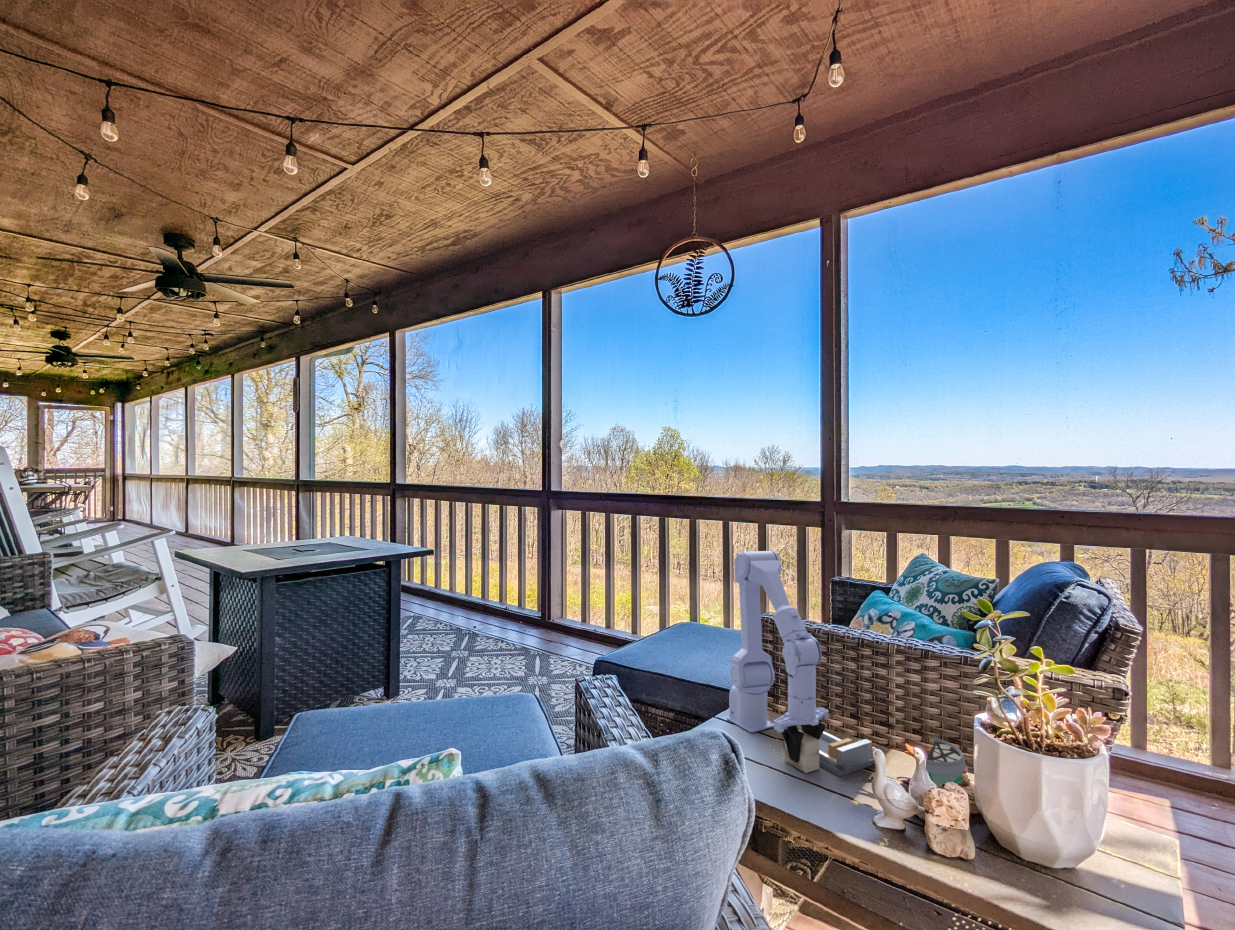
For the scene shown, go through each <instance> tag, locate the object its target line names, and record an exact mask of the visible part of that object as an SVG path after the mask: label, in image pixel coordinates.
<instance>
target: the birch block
mask: <svg viewBox="0 0 1235 930" xmlns="http://www.w3.org/2000/svg"><path fill="white" fill-rule="evenodd" d="M798 731H800V732H802V730H800V729H798ZM802 733H804V732H802ZM784 762H787V763H788V764H790V765H791V766H793V767H795V768H796V769H798V770H800V771H802V772H803V773H805V774H808V773H811V772H813V771H817V770H819V769H820V765H819V740H818V739H816V738H814V737H812V736H810V735H808V734H806V733H804V736H803V739H802V742H801V747H800V759H799V762H797V763H796V762H794V761H793V760H791V759H790V758H789V753H788V749H787V746H786V743H785V746H784Z"/></svg>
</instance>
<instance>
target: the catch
mask: <svg viewBox="0 0 1235 930" xmlns="http://www.w3.org/2000/svg"><path fill="white" fill-rule="evenodd" d="M852 743H854V739H851V738H849V737H846V738H844V739H841V740H840V741H837V742H834V743H831V744H828V755H829V756H831V757H833V758H835V759H836V749H837V748H840V747H843V746H846V745H849V744H852Z"/></svg>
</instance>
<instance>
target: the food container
mask: <svg viewBox="0 0 1235 930" xmlns="http://www.w3.org/2000/svg"><path fill="white" fill-rule="evenodd" d="M925 759H926V770H927V772H928V773H929V776H930V778H931V780H932V781H933V782H934V783H935V784H936V785H937V786H938V787H941V786H942V785H943V784H945V783H947V782H954V783H957V784H961V785H962V778H963V777H962V775H963V774H962V773H963V772H965V771H966V770H967V764H966V763H967V762H966V759H965V756H964V754H963V752H962V751H961V749H960V748H959V747H958V746H956V745H954V744H953V743H952V742H949V741H946V740H944V739H940V738H938V737H933V746H932V747H931V748H930V751H929V752H928V756H927V758H925Z"/></svg>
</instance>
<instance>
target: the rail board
mask: <svg viewBox="0 0 1235 930" xmlns="http://www.w3.org/2000/svg"><path fill="white" fill-rule="evenodd" d="M840 740H842V739H840V738H838V737H837V736H834V735H832V734H831V733H828V732H826V731H825V730H824V731H823V733H822V735H821V737H820V739H819V767H822V768H823V769H825V770H827V771H829V772H831V773H833V774H834V775H836V776H837V777H842V776H845V775H848V774H851V773H854V772H856V771H860V770H863V769H865V768H868V767H871V766H873V765H875V759H874V758H873V742H872V740H869V739H868V738H865V739H861V740H859V741H856V742H853V743H852V744H849V745H846V746H843V747H840V748H837V749H836V759H835V758H833V757H831V756H829V755H828V744H831V743H834V742H837V741H840ZM782 745H783V746H784V747H785V740H782ZM872 764H873V765H872Z"/></svg>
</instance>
